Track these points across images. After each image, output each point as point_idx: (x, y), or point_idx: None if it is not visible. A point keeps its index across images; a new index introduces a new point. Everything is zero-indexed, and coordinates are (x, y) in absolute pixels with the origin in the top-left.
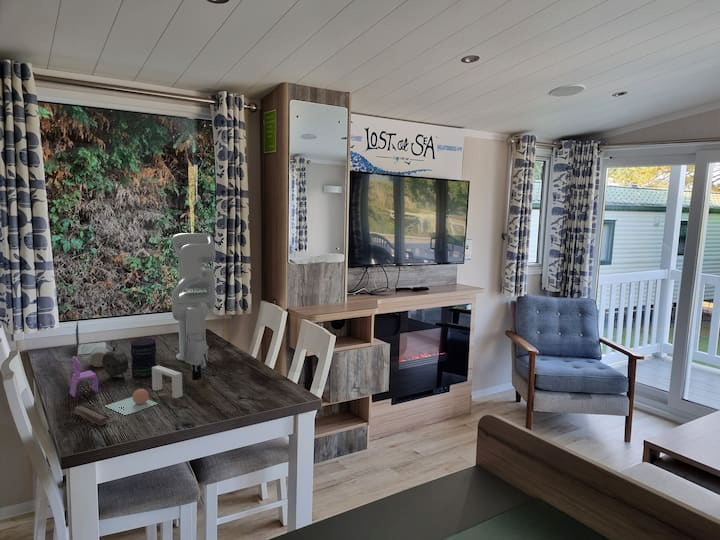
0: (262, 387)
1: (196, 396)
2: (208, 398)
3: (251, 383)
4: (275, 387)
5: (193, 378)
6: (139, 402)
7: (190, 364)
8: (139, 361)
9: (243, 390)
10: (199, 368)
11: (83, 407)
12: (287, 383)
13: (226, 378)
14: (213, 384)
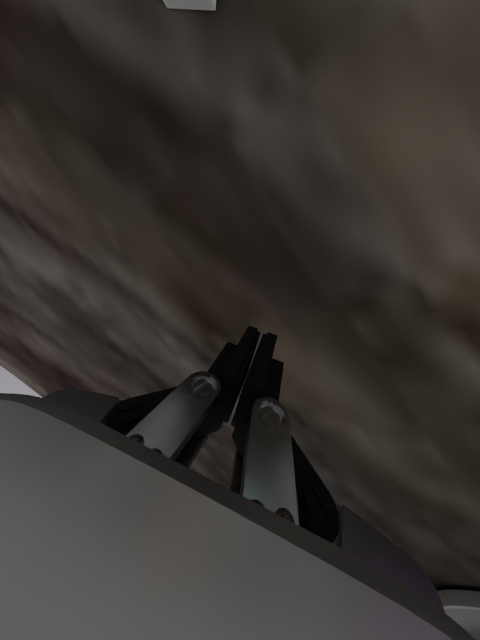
0: (39, 351)
1: (91, 108)
2: (26, 132)
3: (84, 375)
4: (24, 359)
5: (262, 337)
6: None
7: (310, 499)
8: None
9: (43, 311)
10: (141, 396)
11: None
12: (35, 388)
13: None
14: (170, 338)
